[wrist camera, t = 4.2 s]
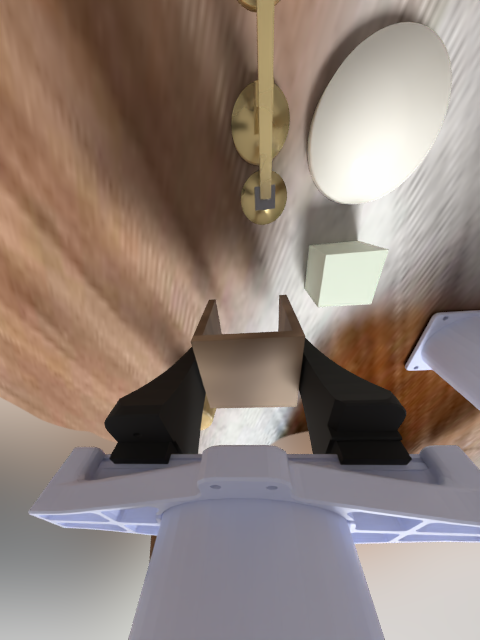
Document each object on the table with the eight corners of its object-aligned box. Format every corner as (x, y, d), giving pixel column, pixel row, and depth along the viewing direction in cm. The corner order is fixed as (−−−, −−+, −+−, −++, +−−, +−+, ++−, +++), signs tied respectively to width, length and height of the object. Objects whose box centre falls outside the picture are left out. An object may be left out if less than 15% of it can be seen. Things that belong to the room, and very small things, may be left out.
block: (357, 240, 15) (388, 249, 12) (346, 285, 17) (371, 304, 14) (308, 244, 15) (326, 255, 12) (304, 288, 18) (318, 307, 14)
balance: (291, -29, 9) (347, -329, 4) (284, 220, 14) (302, 225, 10) (220, -14, 9) (187, -275, 4) (240, 224, 15) (236, 232, 10)
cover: (286, 294, 13) (305, 336, 9) (283, 354, 16) (296, 406, 12) (209, 299, 14) (190, 341, 9) (220, 356, 17) (210, 408, 12)
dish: (462, 25, 9) (483, 6, 9) (406, 198, 13) (416, 197, 13) (314, 51, 10) (320, 37, 9) (302, 209, 14) (306, 209, 13)
